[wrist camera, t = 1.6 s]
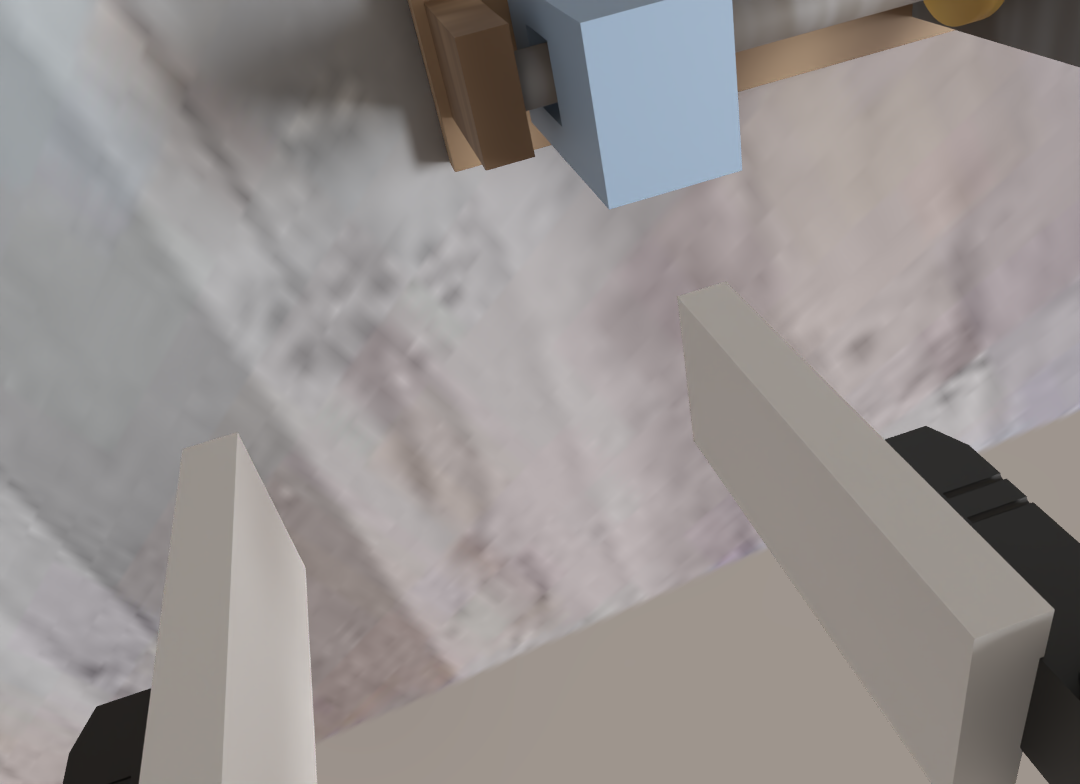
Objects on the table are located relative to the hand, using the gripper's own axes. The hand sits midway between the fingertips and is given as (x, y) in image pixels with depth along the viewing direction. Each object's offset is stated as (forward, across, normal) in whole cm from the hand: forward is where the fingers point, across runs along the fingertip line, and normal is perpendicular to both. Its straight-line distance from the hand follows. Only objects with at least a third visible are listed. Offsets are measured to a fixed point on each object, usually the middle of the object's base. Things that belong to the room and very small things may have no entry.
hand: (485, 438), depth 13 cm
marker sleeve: (+20, +8, 0) cm, 22 cm away
